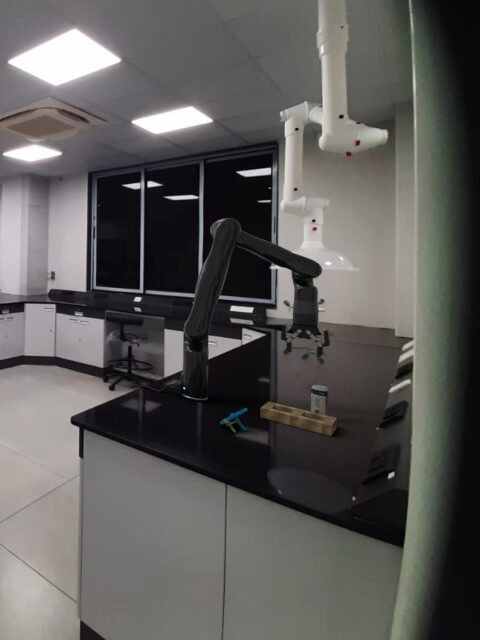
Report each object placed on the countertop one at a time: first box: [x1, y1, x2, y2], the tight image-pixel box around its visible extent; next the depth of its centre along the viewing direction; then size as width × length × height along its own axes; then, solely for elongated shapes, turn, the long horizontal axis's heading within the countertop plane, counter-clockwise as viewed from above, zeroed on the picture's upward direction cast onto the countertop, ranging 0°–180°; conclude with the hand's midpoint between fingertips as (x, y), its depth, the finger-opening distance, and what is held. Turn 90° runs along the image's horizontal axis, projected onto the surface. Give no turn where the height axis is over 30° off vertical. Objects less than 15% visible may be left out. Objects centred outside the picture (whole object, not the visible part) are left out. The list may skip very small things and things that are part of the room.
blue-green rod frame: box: [219, 407, 249, 433], centre depth 135 cm, size 11×6×10 cm
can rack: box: [259, 401, 338, 437], centre depth 143 cm, size 20×11×4 cm, turn 41°
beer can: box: [310, 384, 329, 416], centre depth 147 cm, size 5×5×12 cm
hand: (304, 354), depth 154 cm, fingers open, 8 cm apart
